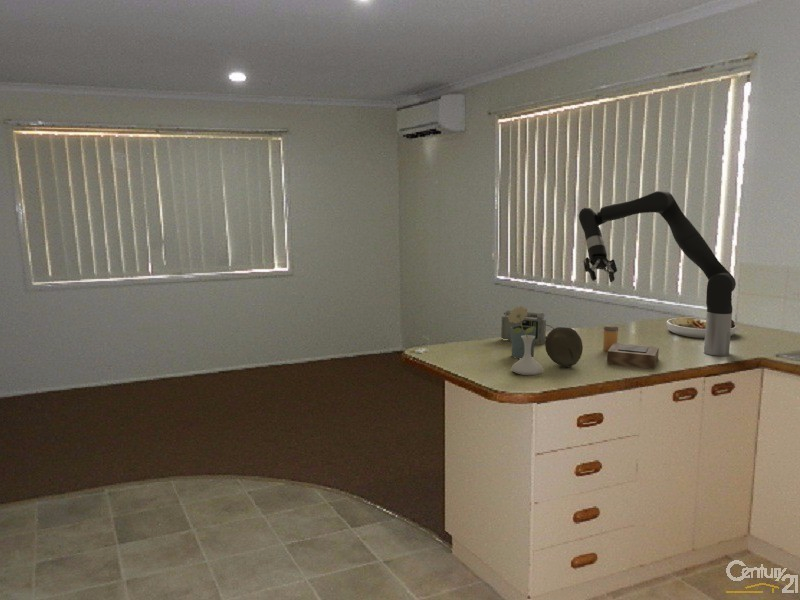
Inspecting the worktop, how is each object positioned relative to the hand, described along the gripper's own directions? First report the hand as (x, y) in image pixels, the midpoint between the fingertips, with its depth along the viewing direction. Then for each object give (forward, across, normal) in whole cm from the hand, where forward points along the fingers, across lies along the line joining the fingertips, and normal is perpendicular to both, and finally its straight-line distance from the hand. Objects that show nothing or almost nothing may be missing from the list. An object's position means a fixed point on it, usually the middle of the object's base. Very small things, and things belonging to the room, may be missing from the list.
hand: (603, 280), depth 270 cm
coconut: (+43, -30, -6) cm, 53 cm away
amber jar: (+29, +1, +8) cm, 30 cm away
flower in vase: (+48, -49, -11) cm, 69 cm away
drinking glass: (+33, -39, +9) cm, 52 cm away
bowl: (+12, +62, +23) cm, 67 cm away
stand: (+40, 0, -8) cm, 41 cm away
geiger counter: (+18, -25, +28) cm, 42 cm away
